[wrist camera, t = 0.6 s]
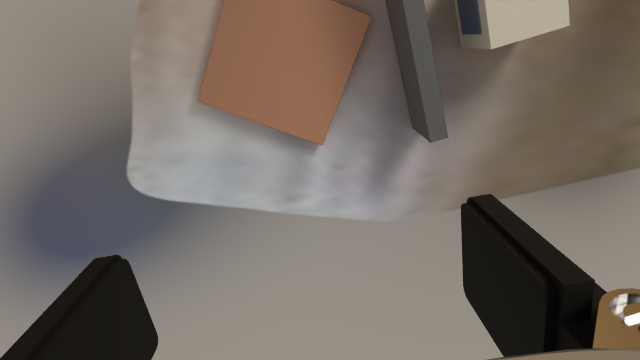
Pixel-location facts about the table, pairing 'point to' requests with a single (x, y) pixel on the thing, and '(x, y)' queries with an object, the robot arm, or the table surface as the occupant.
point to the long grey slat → (417, 67)
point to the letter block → (507, 20)
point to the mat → (283, 62)
